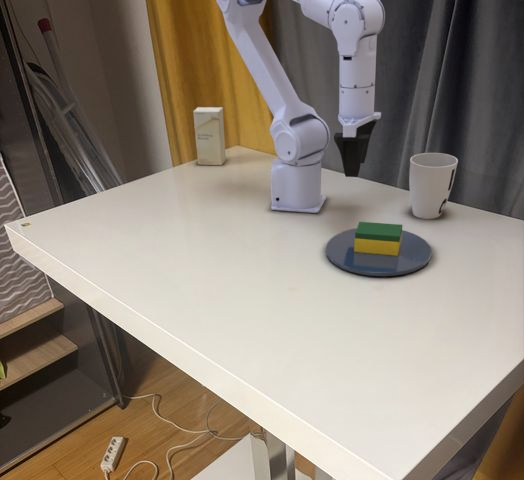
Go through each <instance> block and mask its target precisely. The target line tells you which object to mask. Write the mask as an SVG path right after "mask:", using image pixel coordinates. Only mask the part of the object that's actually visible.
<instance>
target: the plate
mask: <svg viewBox="0 0 524 480" xmlns="http://www.w3.org/2000/svg"><path fill="white" fill-rule="evenodd" d="M356 230H357V227H356V228H350V229H347V230H344V231H341V232H339V233H336V234H335V235H334V236H332V237H331V238H330V239H329V240H328V242H327V243H326V245H325V254H326V256H327V258H328V259H329V261H330V262H331V263H333V265H335V266H337V267H339V268H341V269H342V270H344V271H348V272H351V273H354V274H358V275H362V276H363V275H364V276H371V277H372V276H373V277H394V276H400V275H406V274H410V273H413V272H416V271H417V270H421V268H423V267H424V266H426V265H427V264H428V263H429V261H430V259H431V256H432V248H431V246H430V244H429V243H428V242H427V241H426V240H425V239H424V238H422V237H421V236H419V235H417V234H416V233H413V232H410V231H407V230H404V229H402V234H401V243H400V248H399V253H398V256H394V255H383V254H372V253H361V252H354V247H355V232H356Z"/></svg>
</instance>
